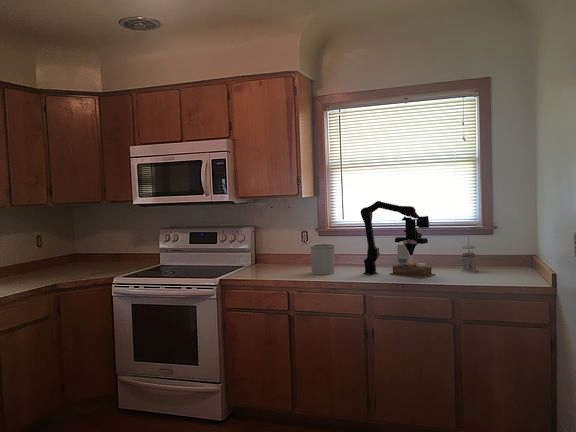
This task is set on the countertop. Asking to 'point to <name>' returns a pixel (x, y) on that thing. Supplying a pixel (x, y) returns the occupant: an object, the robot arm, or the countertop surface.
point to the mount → (412, 271)
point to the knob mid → (411, 264)
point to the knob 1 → (402, 261)
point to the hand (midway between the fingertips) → (411, 255)
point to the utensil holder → (322, 259)
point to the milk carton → (403, 252)
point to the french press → (468, 258)
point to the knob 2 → (420, 265)
